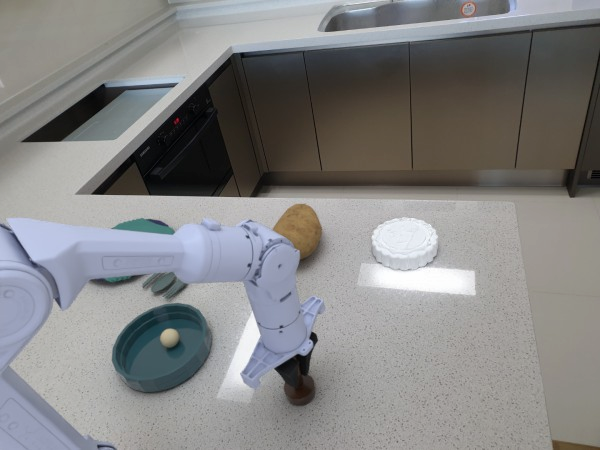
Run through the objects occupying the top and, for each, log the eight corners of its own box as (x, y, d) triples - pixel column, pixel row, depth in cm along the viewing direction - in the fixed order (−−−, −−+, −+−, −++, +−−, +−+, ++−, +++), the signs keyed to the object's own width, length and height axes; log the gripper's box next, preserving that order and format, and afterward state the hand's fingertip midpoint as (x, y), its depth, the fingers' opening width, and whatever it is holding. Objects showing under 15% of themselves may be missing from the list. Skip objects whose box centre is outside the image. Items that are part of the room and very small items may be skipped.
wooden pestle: (303, 411, 63) (292, 373, 58) (279, 396, 65) (266, 358, 60) (322, 387, 65) (313, 348, 60) (298, 373, 68) (287, 335, 63)
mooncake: (385, 224, 92) (384, 210, 90) (445, 235, 87) (446, 220, 85) (362, 262, 85) (360, 248, 83) (426, 277, 79) (426, 262, 77)
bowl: (158, 411, 67) (150, 398, 65) (102, 365, 75) (93, 352, 73) (231, 338, 75) (225, 324, 73) (173, 305, 84) (166, 291, 82)
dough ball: (171, 354, 74) (165, 342, 72) (160, 346, 76) (153, 334, 74) (185, 341, 76) (179, 329, 74) (174, 334, 78) (168, 322, 76)
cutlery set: (135, 217, 110) (132, 209, 109) (227, 249, 95) (224, 240, 93) (64, 269, 98) (59, 261, 97) (155, 316, 82) (151, 307, 81)
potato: (330, 227, 95) (325, 195, 90) (317, 274, 84) (310, 241, 79) (285, 226, 98) (277, 195, 93) (267, 272, 87) (258, 240, 82)
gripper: (262, 369, 49) (285, 435, 57) (338, 284, 57) (349, 352, 65) (217, 342, 53) (245, 407, 61) (294, 266, 61) (310, 332, 69)
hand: (296, 377), depth 63 cm, fingers closed on wooden pestle
